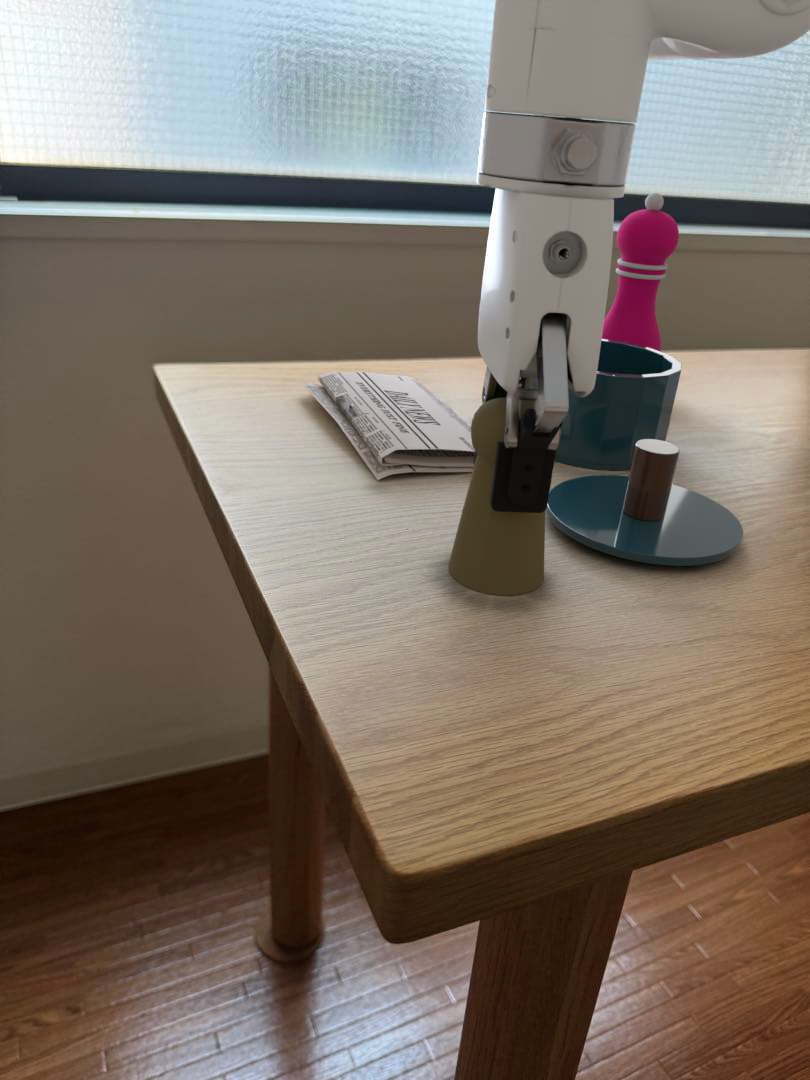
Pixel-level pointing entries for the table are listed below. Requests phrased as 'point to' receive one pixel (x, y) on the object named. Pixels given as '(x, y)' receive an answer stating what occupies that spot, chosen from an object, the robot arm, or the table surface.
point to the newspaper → (395, 423)
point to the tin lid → (645, 513)
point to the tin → (619, 407)
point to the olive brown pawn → (496, 521)
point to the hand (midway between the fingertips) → (507, 485)
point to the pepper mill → (641, 274)
